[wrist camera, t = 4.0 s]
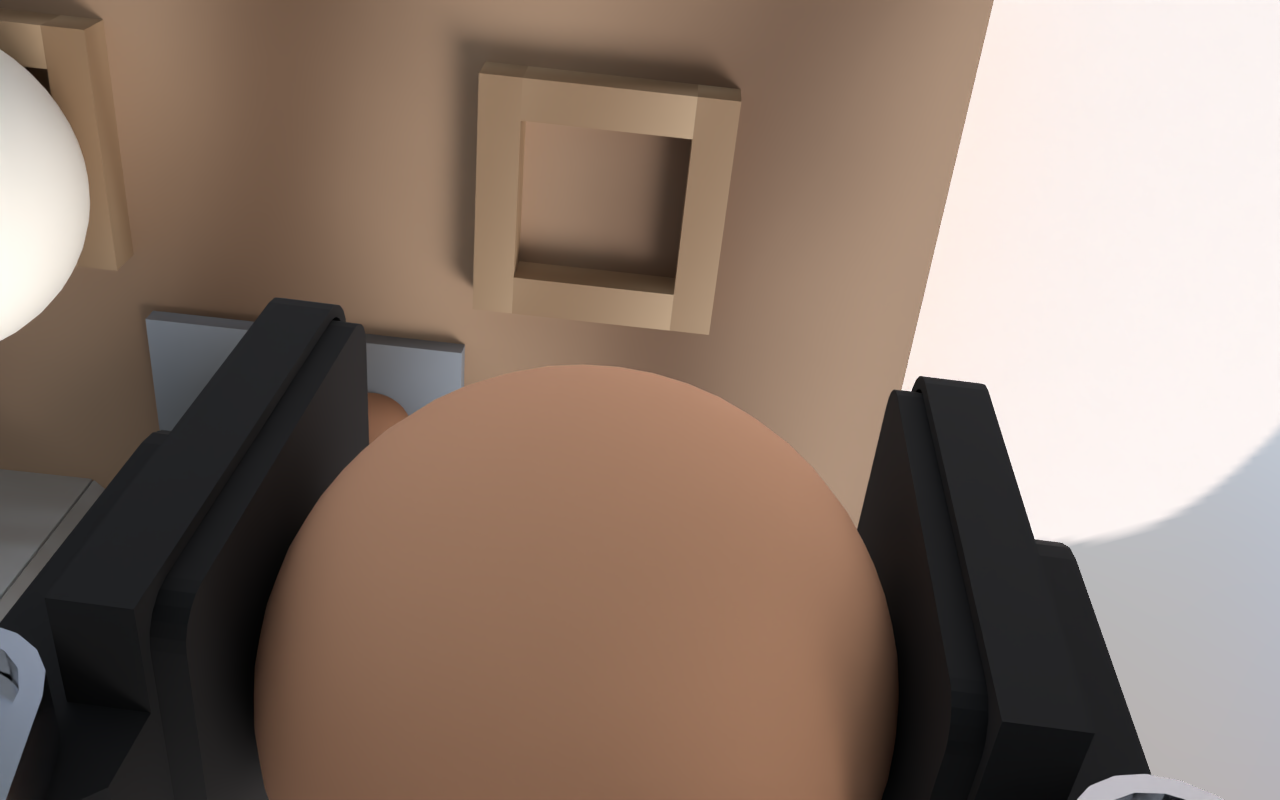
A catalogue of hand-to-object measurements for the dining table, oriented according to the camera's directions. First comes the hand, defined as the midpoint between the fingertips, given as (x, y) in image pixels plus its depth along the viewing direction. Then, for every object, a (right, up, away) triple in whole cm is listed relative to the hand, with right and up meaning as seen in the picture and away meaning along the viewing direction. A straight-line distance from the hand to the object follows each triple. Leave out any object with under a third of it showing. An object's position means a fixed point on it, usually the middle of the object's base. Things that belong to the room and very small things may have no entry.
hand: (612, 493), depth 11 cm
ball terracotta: (0, -1, -2) cm, 2 cm away
